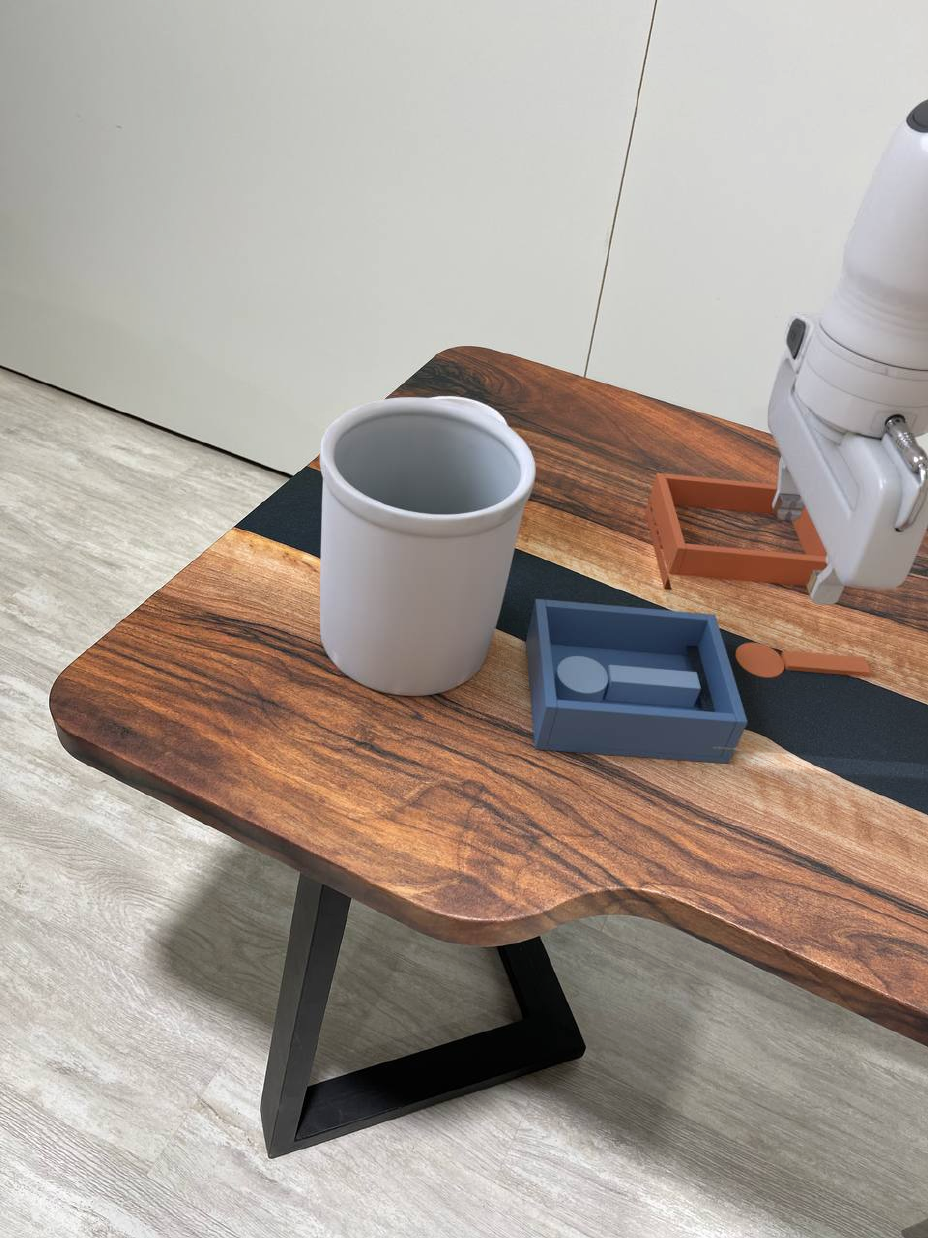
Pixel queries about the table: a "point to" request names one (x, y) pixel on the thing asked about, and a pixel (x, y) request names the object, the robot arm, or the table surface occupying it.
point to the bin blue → (634, 644)
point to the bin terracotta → (726, 559)
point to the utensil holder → (417, 540)
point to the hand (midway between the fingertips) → (801, 554)
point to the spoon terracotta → (796, 662)
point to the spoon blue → (624, 683)
